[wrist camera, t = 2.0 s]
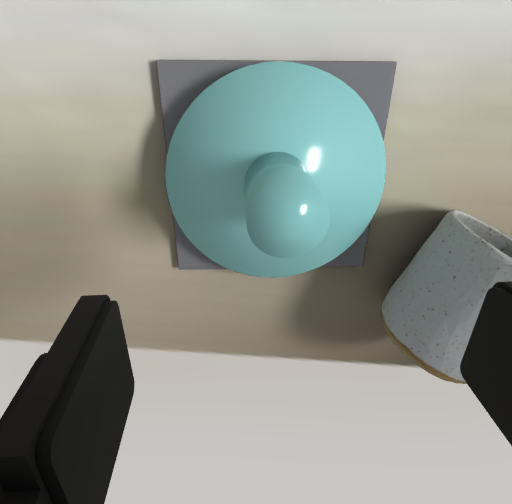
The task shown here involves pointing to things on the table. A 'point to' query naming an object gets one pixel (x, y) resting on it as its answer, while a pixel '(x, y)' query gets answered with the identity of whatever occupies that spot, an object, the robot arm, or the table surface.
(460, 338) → the ceramic mug
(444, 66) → the table surface
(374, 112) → the mat
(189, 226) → the lid
